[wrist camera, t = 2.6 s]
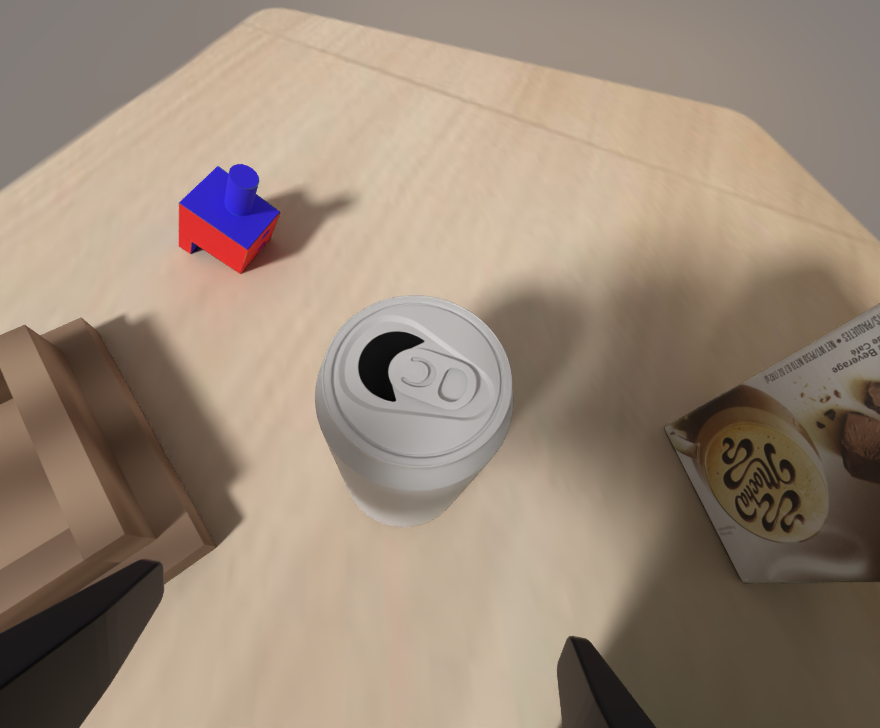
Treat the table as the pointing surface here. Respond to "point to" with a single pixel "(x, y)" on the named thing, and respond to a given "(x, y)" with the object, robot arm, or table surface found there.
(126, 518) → the socket block
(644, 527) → the table surface
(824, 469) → the coffee box
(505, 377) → the beverage can
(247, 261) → the toy building block
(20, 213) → the table surface
